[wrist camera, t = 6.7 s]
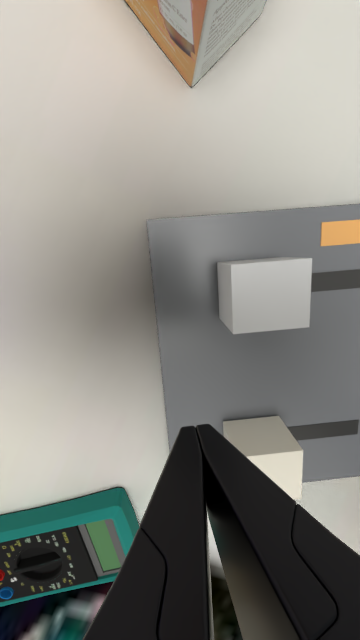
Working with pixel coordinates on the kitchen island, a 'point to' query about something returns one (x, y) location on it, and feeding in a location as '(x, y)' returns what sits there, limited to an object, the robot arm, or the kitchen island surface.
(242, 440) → the cream cube
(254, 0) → the small box
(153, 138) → the kitchen island surface
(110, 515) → the digital multimeter
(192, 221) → the switch panel
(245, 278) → the light gray cube
